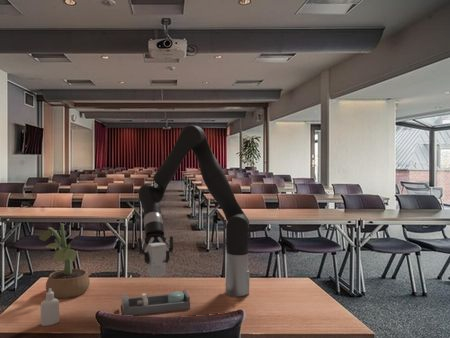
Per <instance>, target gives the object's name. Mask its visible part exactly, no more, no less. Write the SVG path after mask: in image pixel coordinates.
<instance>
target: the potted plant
mask: <svg viewBox="0 0 450 338" xmlns="http://www.w3.org/2000/svg"><path fill="white" fill-rule="evenodd" d="M65 232H66V231H65V225H64V223H60V234H59V233H58V232H57V231H56V230H55V229H54V228H53V227H52V226H48V227H47V230H46V231H43V232H42V233H41V234H40V235H39V237H38V238H39V240H41V241H42V242H46V241H47V240H49V239H50V238H51V236H52V234H53V235H54V238H55V239H54V242H52V243H49V244H47V245H46V246H45V247H46V249H54V250H55V249H58V250H57V251H56V252H55V253H54V254H53V258H54V260H56V261H58V262H59V261H60V262H64V268H63V269H60V270H56V271H54V272H52V273H50V274H49V275H48V277H47V280H46V282H45V291H46V293H47V292H48V290H49V288H51V291H52V292H54V298H56V299H70V298H74V297H79V296H81V295H83V294H84V293H86V292H87V291H88V290H89V287H90V285H91V284H90V282H91V281H90V277H89V276H88V272H87V271H86V270H84V269H81V268H73V262H75V261H76V259H77V251H76V250H75V249H72V246H71V244H70V243H68V244H67V238H66V233H65Z"/></svg>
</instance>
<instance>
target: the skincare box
mask: <svg viewBox="0 0 450 338" xmlns="http://www.w3.org/2000/svg"><path fill="white" fill-rule="evenodd" d="M166 246H167V244H166V243H162V242H160V243H151V244H148V257H149V264H147V275H148V276H149V277H150V278H156V277H164V276H166V275H167V263H166Z"/></svg>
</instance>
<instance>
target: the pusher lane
mask: <svg viewBox="0 0 450 338" xmlns="http://www.w3.org/2000/svg"><path fill="white" fill-rule="evenodd" d="M182 293H184V302H176V303H168V294H169V293H165V294H156V295H147V298H148V305H147V306H142V305H137V301H139V300H142V296H136V297H135V296H133V297H129V296H128V294H125V295H123V294H122V296H121V308H122V315H123V314H124V315H130V316H137V315H138V316H139V315H146V314H148V315H149V314H157V313H163V312H164V313H165V312H173V311H183V310H190V309H191V300H190V299H191V297H190V295H189V294H188V292H187V290H186V289H182Z"/></svg>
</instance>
